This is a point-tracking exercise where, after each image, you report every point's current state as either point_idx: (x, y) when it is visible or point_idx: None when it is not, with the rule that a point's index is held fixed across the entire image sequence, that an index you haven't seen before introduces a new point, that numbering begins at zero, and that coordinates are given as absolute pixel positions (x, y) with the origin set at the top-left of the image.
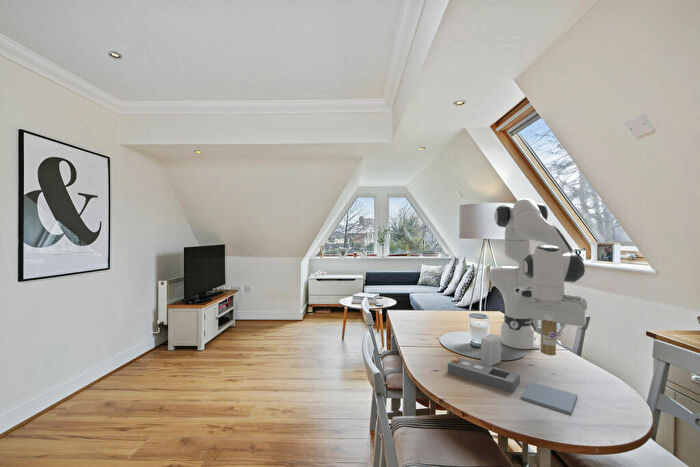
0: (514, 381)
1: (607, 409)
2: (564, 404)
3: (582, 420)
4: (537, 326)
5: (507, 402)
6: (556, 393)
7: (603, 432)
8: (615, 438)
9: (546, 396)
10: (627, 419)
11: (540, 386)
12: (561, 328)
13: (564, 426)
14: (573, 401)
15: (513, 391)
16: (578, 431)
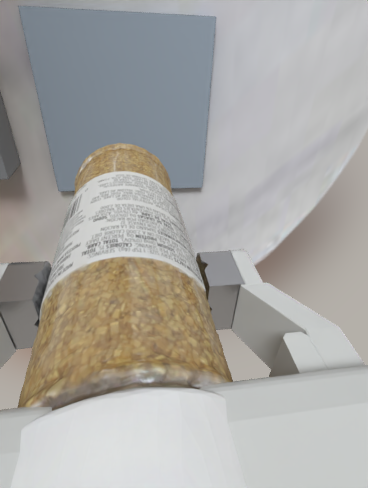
0: (2, 153)
1: (301, 61)
2: (182, 150)
3: (226, 193)
4: (3, 361)
5: (45, 235)
6: (146, 71)
7: (265, 216)
8: (284, 223)
9: (123, 130)
10: (340, 97)
11: (75, 39)
12: (271, 362)
13: None
14: (205, 104)
15: (17, 156)
16: (218, 247)
